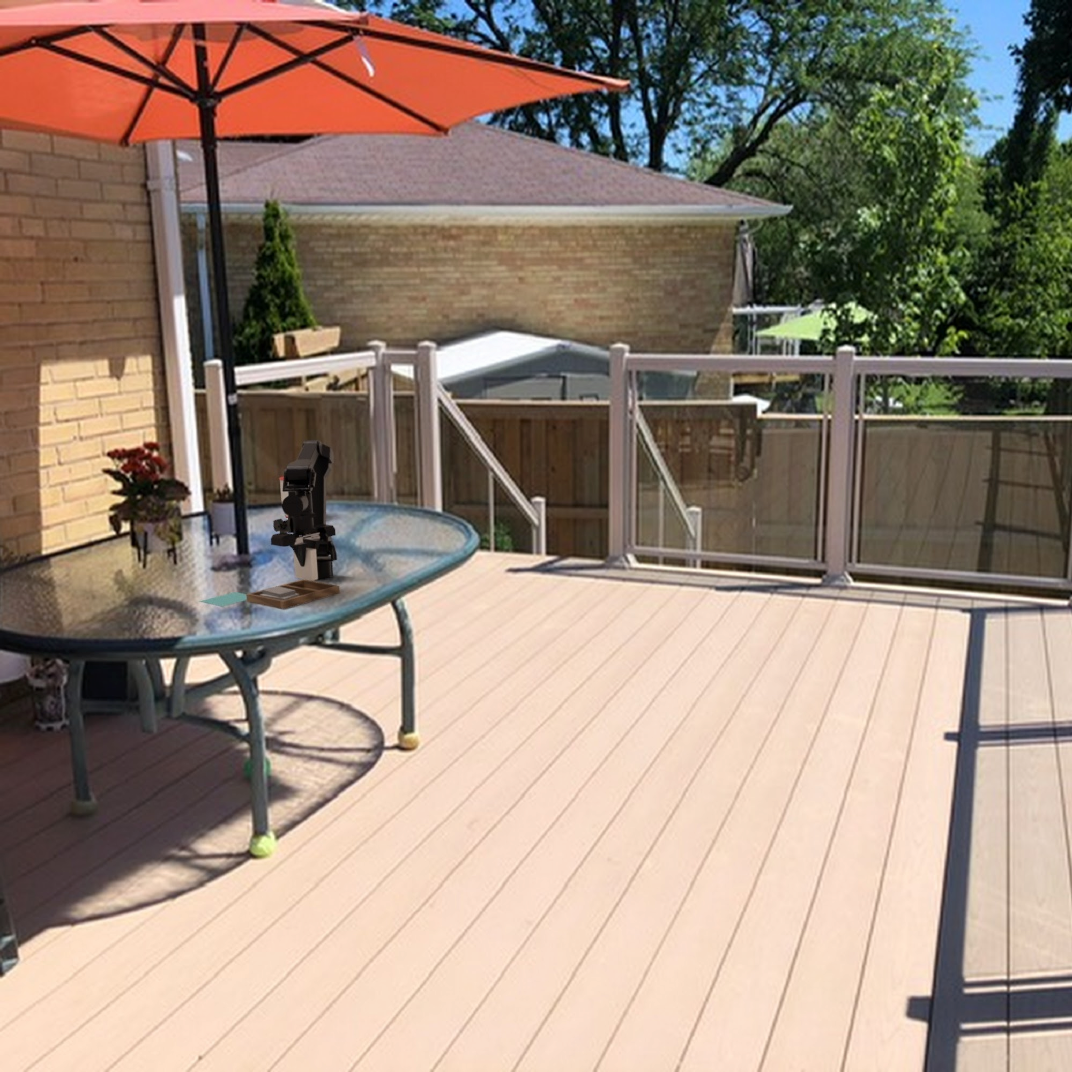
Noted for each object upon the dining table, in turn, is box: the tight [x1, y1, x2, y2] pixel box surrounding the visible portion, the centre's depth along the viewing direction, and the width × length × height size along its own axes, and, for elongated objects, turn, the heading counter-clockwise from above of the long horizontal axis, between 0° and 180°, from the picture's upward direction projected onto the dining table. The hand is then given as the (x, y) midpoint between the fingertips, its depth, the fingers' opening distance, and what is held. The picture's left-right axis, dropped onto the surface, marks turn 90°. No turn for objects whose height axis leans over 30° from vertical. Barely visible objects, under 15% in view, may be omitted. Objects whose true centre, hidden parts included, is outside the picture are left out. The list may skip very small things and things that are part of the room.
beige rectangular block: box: [293, 548, 318, 581], centre depth 306 cm, size 2×7×8 cm, turn 53°
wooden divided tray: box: [245, 579, 341, 610], centre depth 304 cm, size 20×15×3 cm
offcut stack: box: [260, 585, 299, 600], centre depth 299 cm, size 6×11×3 cm, turn 53°
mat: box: [199, 591, 247, 607], centre depth 304 cm, size 12×10×1 cm
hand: (305, 565), depth 306 cm, fingers closed on beige rectangular block, 2 cm apart
